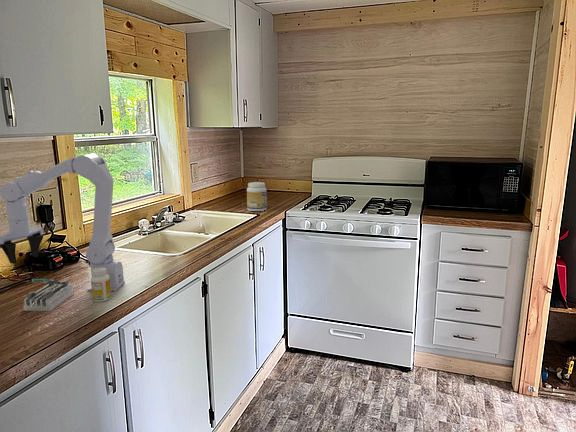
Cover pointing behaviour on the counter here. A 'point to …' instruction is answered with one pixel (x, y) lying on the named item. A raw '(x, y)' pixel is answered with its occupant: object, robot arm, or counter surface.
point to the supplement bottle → (100, 285)
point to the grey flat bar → (46, 281)
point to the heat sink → (48, 297)
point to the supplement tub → (256, 196)
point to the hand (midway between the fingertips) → (24, 259)
